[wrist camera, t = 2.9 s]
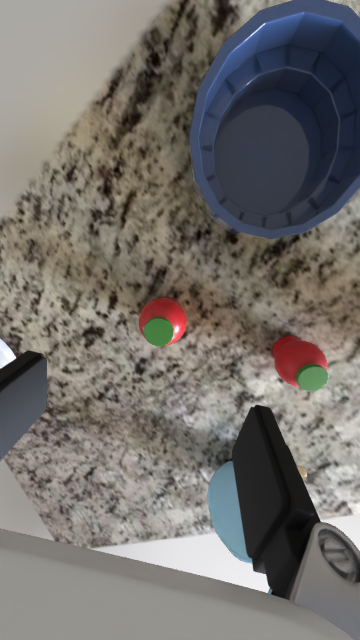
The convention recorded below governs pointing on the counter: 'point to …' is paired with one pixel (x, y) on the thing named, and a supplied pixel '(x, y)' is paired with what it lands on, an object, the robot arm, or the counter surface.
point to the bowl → (280, 121)
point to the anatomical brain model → (229, 510)
